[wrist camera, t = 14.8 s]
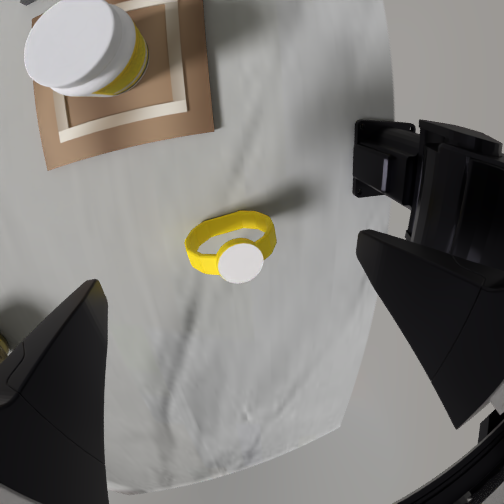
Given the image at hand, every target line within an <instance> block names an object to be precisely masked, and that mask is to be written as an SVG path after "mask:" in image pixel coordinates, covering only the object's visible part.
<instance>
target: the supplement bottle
mask: <svg viewBox="0 0 504 504" xmlns="http://www.w3.org/2000/svg"><path fill="white" fill-rule="evenodd" d="M24 62H25V67H26V70H27V72H28V74H29V76H30V77H31V78H32V79H33V80H34V81H35V82H37V83H38V84H40V85H43V86H46V87H50V88H51V89H52V90H54V91H56V92H57V93H60V94H62V95H66V96H72V97H113V96H117V95H120V94H122V93H124V92H126V91H128V90H130V89H131V88H133V87H134V86H135V85H136V84H137V83H138V82H139V81H140V80H141V78H142V77H143V75H144V74H145V72H146V69H147V67H148V63H149V49H148V45H147V43H146V41H145V39H144V38H143V36H142V35H141V33H140V31H139V30H138V28H137V27H136V25H135V23H134V22H133V20H132V19H131V17H130V16H129V15H128V14H127V13H126V12H125V11H124V10H123V9H121V8H120V7H118V6H115V5H112V4H108V3H107V2H106V1H105V0H61V1H60V2H58V3H56V4H55V5H53V6H52V7H50V8H49V9H48V10H47V11H46V12H45V13H44V14H43V15H42V16H41V17H40V18H39V19H38V20H37V22H36V23H35V24H34V26H33V28H32V29H31V31H30V33H29V36H28V38H27V41H26V44H25V49H24Z"/></svg>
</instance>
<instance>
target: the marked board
mask: <svg viewBox="0 0 504 504" xmlns="http://www.w3.org/2000/svg"><path fill="white" fill-rule="evenodd" d="M105 1H106V2H107V3H108V4H112V5H115V6H118V7H120V8H121V9H123V10H124V11H125V12H126V13H127V14H128V15H129V16H130V17H131V19H132V20H133V22H134V23H135V25H136V27H137V28H138V30H139V31H140V33H141V35H142V36H143V38H144V39H145V41H146V43H147V45H148V49H149V63H148V67H147V69H146V72H145V74H144V75H143V77H142V78H141V80H140V81H139V82H138V83H137V84H136V85H135V86H134V87H133V88H131V89H130V90H128V91H126V92H124V93H122V94H120V95H117V96H113V97H72V96H66V95H62V94H60V93H57V92H56V91H54V90H52V89H51V88H50V87H46V86H43V85H40V84H38V83H37V82H35V81H34V80H33V85H34V95H35V104H36V111H37V118H38V125H39V131H40V136H41V142H42V147H43V152H44V156H45V161H46V165H47V169H48V171H49V170H52V169H55V168H58V167H61V166H64V165H67V164H70V163H73V162H76V161H80V160H83V159H86V158H90V157H93V156H97V155H100V154H104V153H108V152H112V151H116V150H120V149H124V148H128V147H132V146H137V145H141V144H146V143H150V142H155V141H160V140H165V139H171V138H176V137H182V136H188V135H194V134H200V133H207V132H214V122H213V113H212V103H211V93H210V82H209V71H208V60H207V48H206V36H205V24H204V10H203V0H105ZM43 14H44V13H43ZM43 14H41V15H39V16H37V17H35V18H33V19H32V28H33V26H34V24H35V23H36V22H37V20H38V19H39V18H40V17H41V16H42V15H43Z"/></svg>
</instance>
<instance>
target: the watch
mask: <svg viewBox="0 0 504 504" xmlns="http://www.w3.org/2000/svg"><path fill="white" fill-rule="evenodd" d="M241 228H251V229H259V230H261V231H263V232H265V234H264V236H263V237H261V238H260V239H259V240H257V241H256V242H253V241H251V240H249V239H246V238H236V239H232V240H230V241H228V242H226V243H225V244H224V245H223V246H221V248H220V249H219V251H218V252H217V254H201V253H199V252H197V250H198V248H199V246H200V245H201V244H203V243H204V242H205V241H207V240H208V239H209V238H211V237H213V236H217V235H220V234H224V233H227V232H231V231H234V230H238V229H241ZM276 241H277V240H276V234H275V228H274V224H273V222H272V220H271V218H270V217H269V216H267V215H265V214H262V213H260V212H256V211H242V210H241V211H240V210H238V212H235V213H231V214H228V215H224V216H221V217H217V218H214V219H210V220H207V221H203V222H202V223H200V224H199V225H198V226H196V227H195V228H193V229H192V230H191V232H190V233H189V235H188V236H187V238H186V239H185V242H184V243H185V247H186V251H187V254H188V257H189V259H190V262H191V265H192V266H193V267H194V268H195V269H197V270H199V271H201V272H202V273H206V274H213V275H220V276H221V277H222V278H223V279H224V280H226V281H228V282H231V283H238V284H240V283H245V282H247V281H250V280H252V279H253V278H254V277H256V276H257V275H258V273H259V272H260V271H261V269H262V266H263V260H265V259H266V258H267V257H269V256H270V254H272V252H273V250H274V247H275V245H276V243H277V242H276Z"/></svg>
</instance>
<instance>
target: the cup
mask: <svg viewBox="0 0 504 504" xmlns="http://www.w3.org/2000/svg"><path fill="white" fill-rule="evenodd" d="M8 352H9V346H8V343H7V341H6V339H5V338H4V337H3V336H2V335H1V334H0V364H1V363H2V362H3V361H4V360H5V359H6V358H7V357H8V355H7V354H8Z"/></svg>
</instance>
